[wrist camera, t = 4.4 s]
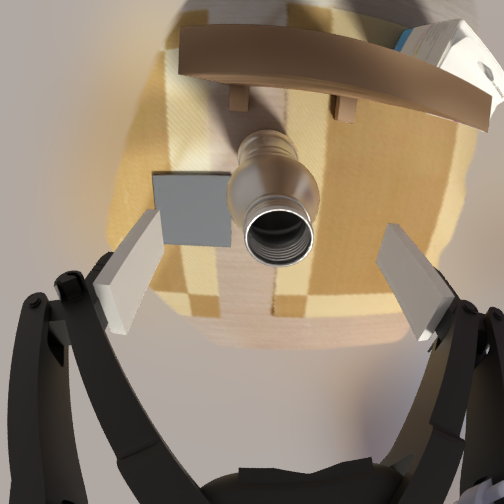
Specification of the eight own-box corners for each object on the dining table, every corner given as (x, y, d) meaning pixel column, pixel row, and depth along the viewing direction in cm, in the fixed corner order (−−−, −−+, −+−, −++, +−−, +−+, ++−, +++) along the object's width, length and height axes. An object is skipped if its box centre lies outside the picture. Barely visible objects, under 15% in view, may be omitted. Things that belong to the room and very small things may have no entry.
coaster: (153, 174, 33) (152, 175, 32) (232, 175, 33) (231, 176, 32) (161, 242, 38) (160, 243, 38) (230, 245, 38) (230, 247, 38)
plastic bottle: (276, 188, 34) (294, 303, 17) (228, 160, 32) (194, 254, 15) (306, 146, 31) (366, 225, 14) (257, 115, 29) (257, 152, 12)
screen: (233, 45, 24) (186, -34, 6) (356, 60, 24) (493, 44, 6) (230, 110, 28) (178, 149, 10) (350, 122, 29) (474, 187, 10)
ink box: (377, 73, 25) (442, 73, 14) (404, 28, 21) (471, 14, 9) (426, 115, 27) (495, 139, 16) (450, 71, 23) (521, 81, 11)
